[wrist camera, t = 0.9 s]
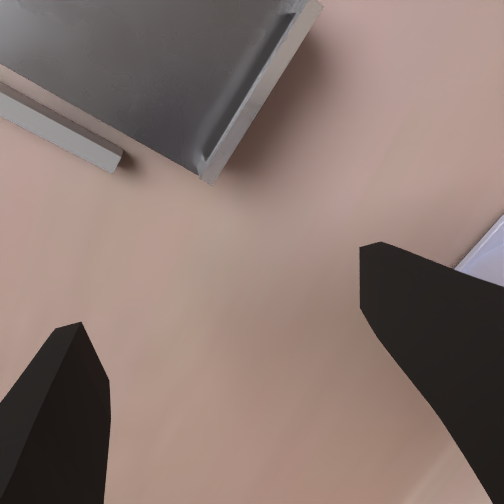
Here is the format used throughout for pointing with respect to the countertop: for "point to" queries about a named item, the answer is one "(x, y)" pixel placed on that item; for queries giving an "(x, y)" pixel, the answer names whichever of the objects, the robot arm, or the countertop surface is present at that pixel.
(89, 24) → the trolley
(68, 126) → the dock
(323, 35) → the countertop surface
